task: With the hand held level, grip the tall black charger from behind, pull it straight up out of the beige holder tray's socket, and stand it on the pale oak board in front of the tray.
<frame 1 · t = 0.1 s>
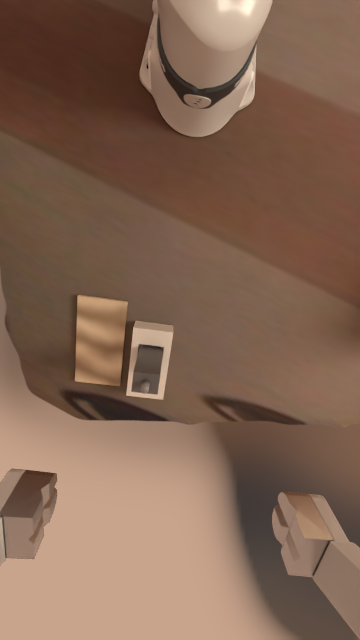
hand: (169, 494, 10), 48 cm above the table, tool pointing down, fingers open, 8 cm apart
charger: (150, 351, 59), point 1 cm above the table, touching beige holder tray
oak board: (100, 342, 60), on the table
beige holder tray: (150, 356, 61), on the table
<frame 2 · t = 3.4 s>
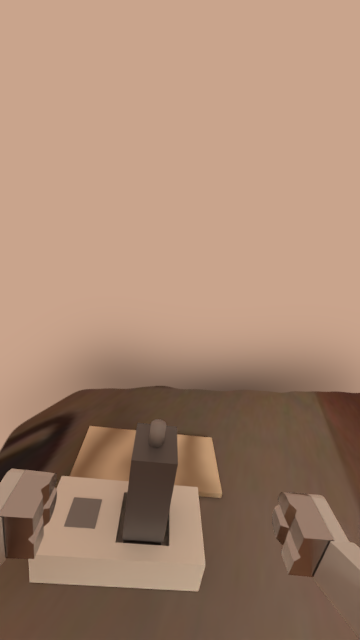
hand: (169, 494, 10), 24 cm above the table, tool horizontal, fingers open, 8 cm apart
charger: (142, 533, 30), point 1 cm above the table, touching beige holder tray
oak board: (148, 460, 41), on the table
beige holder tray: (122, 541, 30), on the table
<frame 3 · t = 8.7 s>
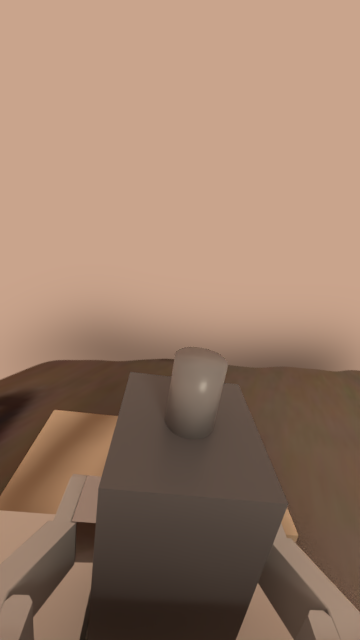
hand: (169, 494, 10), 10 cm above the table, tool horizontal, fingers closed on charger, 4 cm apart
oak board: (153, 468, 23), on the table
when the fingers open (10 cm above the table, at t = 14.8 s): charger drops 1 cm, resting on oak board.
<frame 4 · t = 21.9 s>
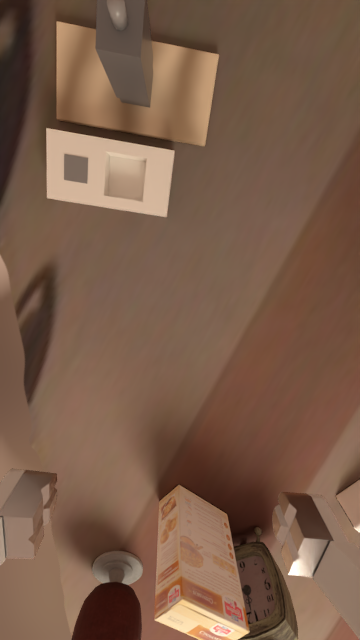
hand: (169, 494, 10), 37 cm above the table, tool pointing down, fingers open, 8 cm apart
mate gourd: (119, 568, 69), on the table
tabletop clock: (240, 540, 66), on the table
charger: (137, 87, 36), point 1 cm above the table, touching oak board
oak board: (136, 90, 36), on the table
medicine bottle: (355, 493, 62), on the table
beige holder tray: (115, 179, 40), on the table
coffeecake box: (193, 506, 62), on the table
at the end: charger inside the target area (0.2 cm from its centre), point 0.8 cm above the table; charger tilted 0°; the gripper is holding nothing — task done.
